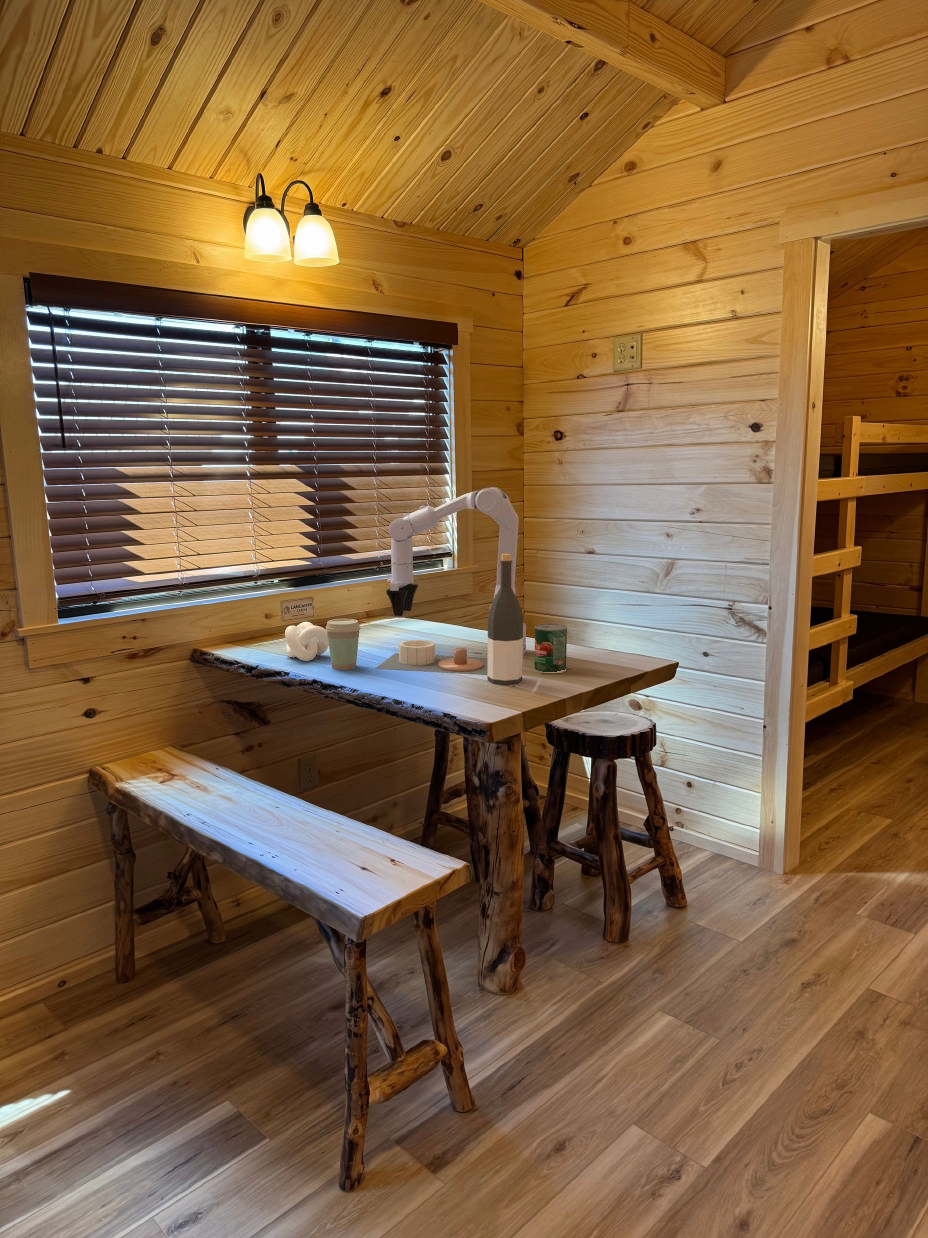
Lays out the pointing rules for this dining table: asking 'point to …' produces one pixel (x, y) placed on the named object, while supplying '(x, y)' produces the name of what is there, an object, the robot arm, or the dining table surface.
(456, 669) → the lid
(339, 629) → the coffee cup
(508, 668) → the wine bottle
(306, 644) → the white knot sculpture
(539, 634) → the canned tomato
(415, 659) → the bowl
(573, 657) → the dining table surface
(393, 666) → the mat
